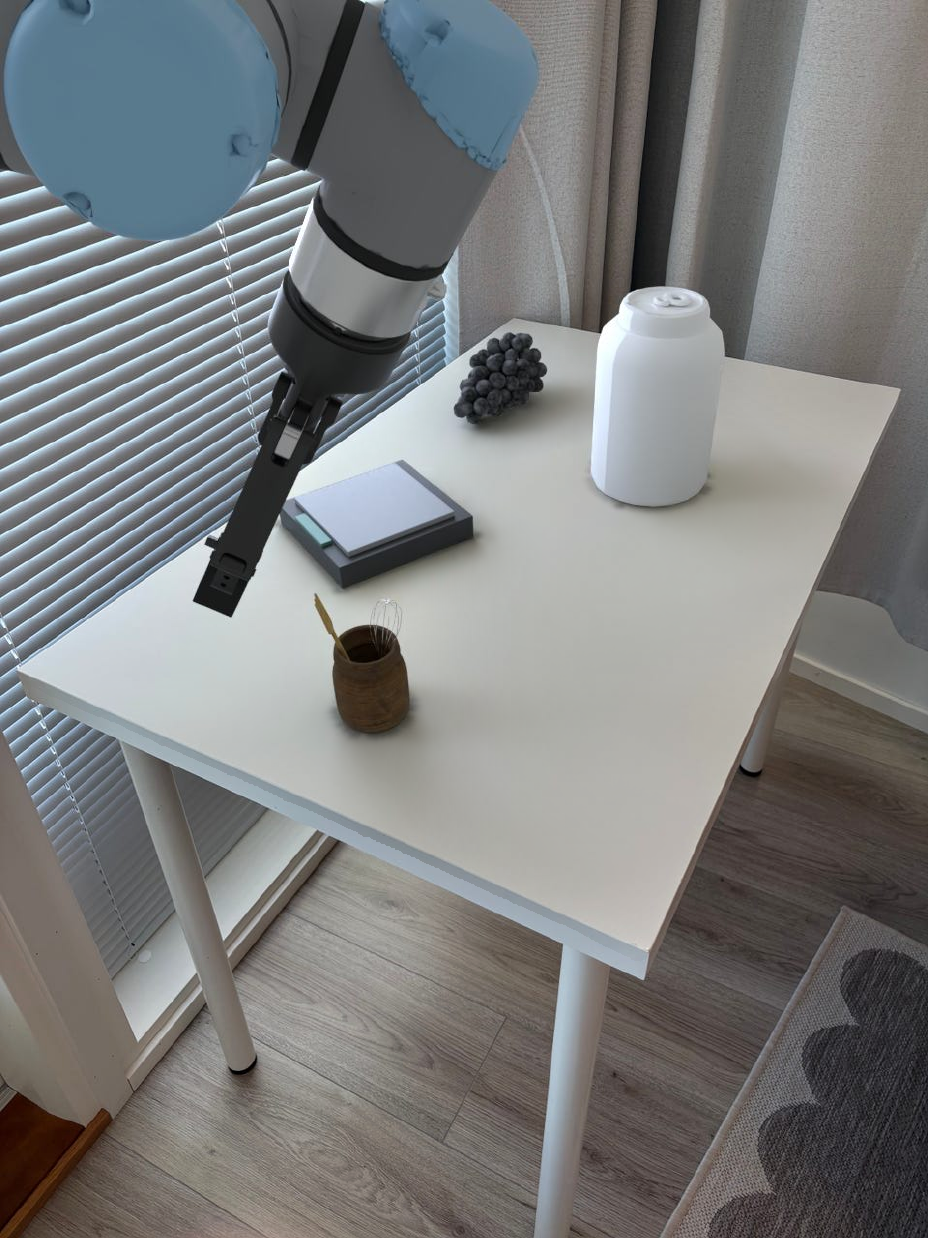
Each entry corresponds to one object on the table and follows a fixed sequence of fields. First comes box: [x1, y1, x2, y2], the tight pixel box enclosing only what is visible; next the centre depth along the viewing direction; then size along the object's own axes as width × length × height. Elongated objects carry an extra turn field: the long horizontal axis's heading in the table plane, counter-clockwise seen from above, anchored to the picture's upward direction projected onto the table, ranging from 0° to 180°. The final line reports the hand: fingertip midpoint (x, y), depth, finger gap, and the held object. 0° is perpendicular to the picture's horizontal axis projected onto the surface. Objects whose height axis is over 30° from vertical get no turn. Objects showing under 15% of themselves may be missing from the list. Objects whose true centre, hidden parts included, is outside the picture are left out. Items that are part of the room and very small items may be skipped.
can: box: [590, 285, 726, 508], centre depth 97 cm, size 12×12×20 cm
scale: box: [279, 459, 475, 590], centre depth 97 cm, size 15×14×3 cm
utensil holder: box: [313, 592, 410, 733], centre depth 74 cm, size 6×6×12 cm
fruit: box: [453, 331, 548, 425], centre depth 116 cm, size 9×8×15 cm
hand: (244, 536), depth 67 cm, fingers open, 13 cm apart
